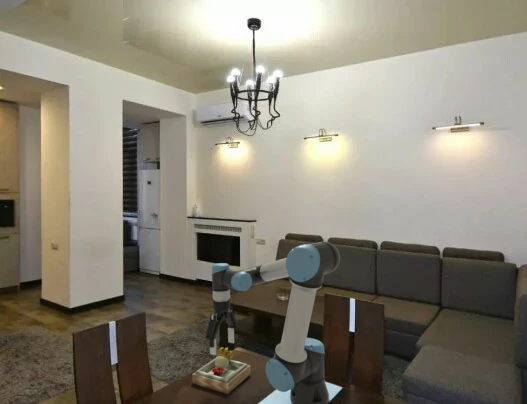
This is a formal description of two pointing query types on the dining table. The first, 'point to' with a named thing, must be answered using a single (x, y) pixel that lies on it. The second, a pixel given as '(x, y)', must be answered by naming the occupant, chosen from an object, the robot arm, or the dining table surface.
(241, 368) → the square wooden tray
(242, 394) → the dining table surface
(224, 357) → the toy
